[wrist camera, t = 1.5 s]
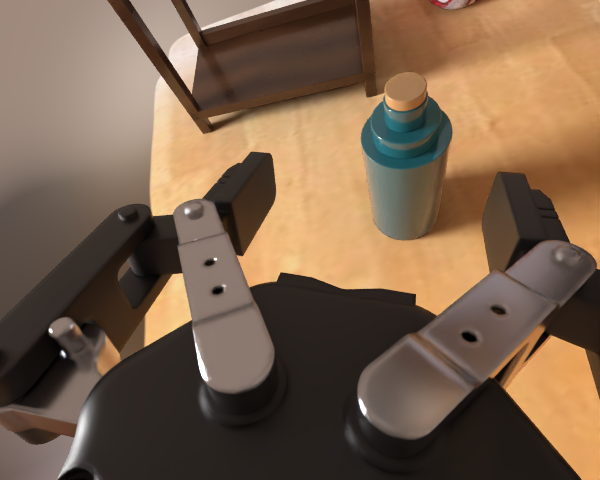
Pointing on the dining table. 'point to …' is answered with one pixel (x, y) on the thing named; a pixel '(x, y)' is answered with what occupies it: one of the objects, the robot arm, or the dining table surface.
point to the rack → (266, 55)
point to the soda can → (452, 3)
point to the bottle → (406, 158)
